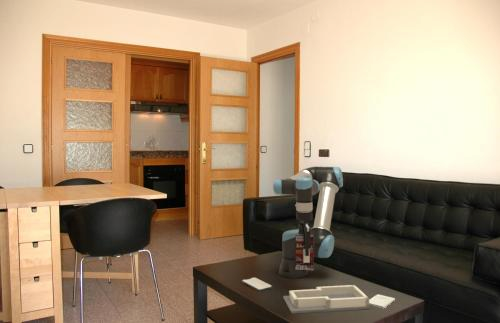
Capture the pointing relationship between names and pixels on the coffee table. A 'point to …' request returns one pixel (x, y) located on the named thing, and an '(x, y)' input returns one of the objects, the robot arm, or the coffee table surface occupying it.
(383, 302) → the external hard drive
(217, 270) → the coffee table surface
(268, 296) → the coffee table surface
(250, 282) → the phone case
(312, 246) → the supplement box
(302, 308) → the white tray
